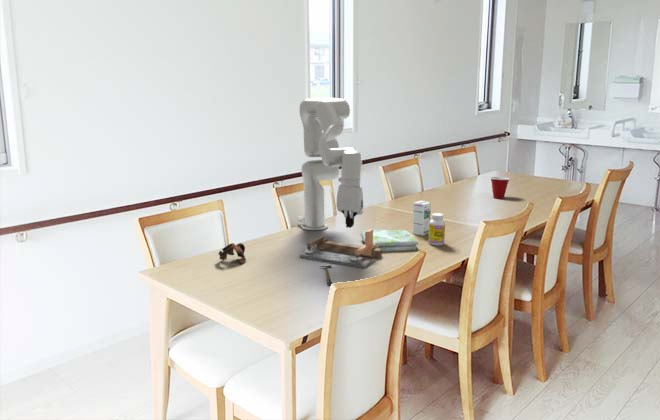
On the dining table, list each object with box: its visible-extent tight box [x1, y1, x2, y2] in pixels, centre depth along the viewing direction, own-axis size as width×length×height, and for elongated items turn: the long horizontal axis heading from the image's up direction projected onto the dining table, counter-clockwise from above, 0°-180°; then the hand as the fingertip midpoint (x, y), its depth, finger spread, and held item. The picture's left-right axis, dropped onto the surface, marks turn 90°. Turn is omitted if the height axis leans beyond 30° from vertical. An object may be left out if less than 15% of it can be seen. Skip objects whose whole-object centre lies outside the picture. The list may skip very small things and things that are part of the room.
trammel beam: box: [306, 236, 383, 259], centre depth 231 cm, size 28×14×5 cm, turn 62°
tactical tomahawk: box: [319, 264, 333, 286], centre depth 209 cm, size 21×7×1 cm, turn 2°
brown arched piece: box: [218, 242, 247, 265], centre depth 225 cm, size 12×10×8 cm
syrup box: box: [412, 200, 431, 236], centre depth 260 cm, size 6×6×14 cm
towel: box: [360, 228, 419, 252], centre depth 245 cm, size 18×21×5 cm
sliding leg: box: [354, 228, 376, 258], centre depth 226 cm, size 4×14×10 cm, turn 152°
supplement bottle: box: [428, 212, 446, 246], centre depth 245 cm, size 7×7×13 cm
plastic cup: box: [490, 176, 511, 200], centre depth 332 cm, size 11×11×12 cm
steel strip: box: [299, 248, 374, 269], centre depth 226 cm, size 28×8×2 cm, turn 62°
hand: (349, 226), depth 233 cm, fingers closed
